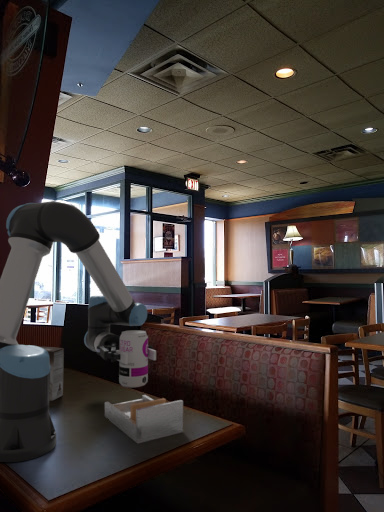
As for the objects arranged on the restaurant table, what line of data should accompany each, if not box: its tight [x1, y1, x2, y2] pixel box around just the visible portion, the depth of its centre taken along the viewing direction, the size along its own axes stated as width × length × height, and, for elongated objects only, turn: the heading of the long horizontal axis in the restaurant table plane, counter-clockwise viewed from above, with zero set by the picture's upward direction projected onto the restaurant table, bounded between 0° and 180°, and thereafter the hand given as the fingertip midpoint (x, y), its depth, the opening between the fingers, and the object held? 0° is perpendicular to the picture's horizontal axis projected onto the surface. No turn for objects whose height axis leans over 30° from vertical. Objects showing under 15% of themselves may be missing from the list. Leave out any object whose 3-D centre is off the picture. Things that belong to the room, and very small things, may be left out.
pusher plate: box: [130, 397, 167, 422], centre depth 106 cm, size 1×10×6 cm, turn 123°
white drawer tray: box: [104, 394, 184, 444], centre depth 110 cm, size 22×13×8 cm, turn 33°
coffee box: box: [40, 345, 65, 402], centre depth 133 cm, size 9×6×16 cm
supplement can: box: [118, 329, 149, 388], centre depth 116 cm, size 8×8×15 cm
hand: (141, 357), depth 112 cm, fingers closed on supplement can, 8 cm apart
